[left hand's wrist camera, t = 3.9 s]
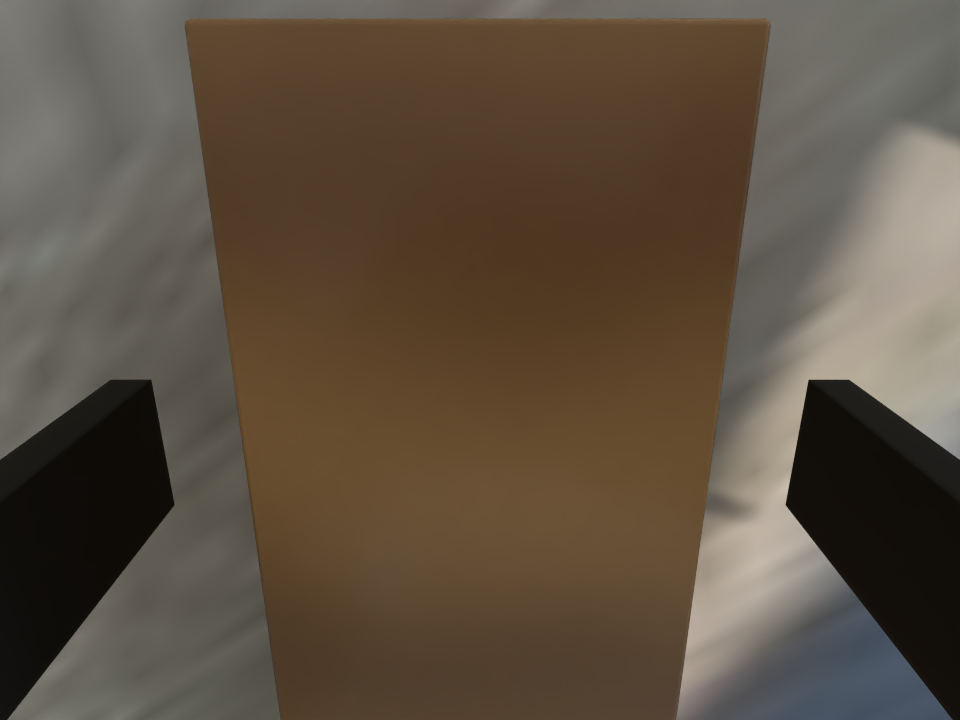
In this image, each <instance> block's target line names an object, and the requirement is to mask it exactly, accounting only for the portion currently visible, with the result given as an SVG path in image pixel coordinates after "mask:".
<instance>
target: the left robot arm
mask: <svg viewBox="0 0 960 720" xmlns="http://www.w3.org/2000/svg"><path fill="white" fill-rule="evenodd" d="M173 506H174V500H173V495H172V489H171V484H170V478H169V473H168V468H167V462H166V457H165V451H164V446H163V441H162V435H161V430H160V424H159V419H158V414H157V408H156V403H155V397H154V392H153V386H152V381H151V380H110V381H109V382H107V383H106V384H104V385H103V386H102V387H100V388H99V389H98V390H96V391H95V392H93V393H92V394H91V395H89V396H88V397H87V398H85V399H84V400H82V401H81V402H80V403H78V404H77V405H75V406H74V407H73V408H71V409H70V410H69V411H67V412H66V413H64V414H63V415H62V416H60V417H59V418H58V419H56V420H55V421H53V422H52V423H51V424H49V425H48V426H46V427H45V428H44V429H42V430H41V431H40V432H38V433H37V434H35V435H34V436H33V437H31V438H30V439H29V440H27V441H26V442H24V443H23V444H22V445H20V446H19V447H17V448H16V449H15V450H13V451H12V452H11V453H9V454H8V455H6V456H5V457H4V458H2V459H1V460H0V720H7V719H8V718H9V717H10V715H11V714H12V713H13V712H14V710H15V709H16V708H17V706H18V705H19V704H20V703H21V701H22V700H23V699H24V697H25V696H26V695H27V694H28V692H29V691H30V690H31V688H32V687H33V686H34V685H35V683H36V682H37V681H38V679H39V678H40V677H41V676H42V674H43V673H44V672H45V671H46V669H47V668H48V667H49V665H50V664H51V663H52V662H53V660H54V659H55V658H56V656H57V655H58V654H59V653H60V651H61V650H62V649H63V647H64V646H65V645H66V644H67V642H68V641H69V640H70V638H71V637H72V636H73V635H74V633H75V632H76V631H77V629H78V628H79V627H80V626H81V624H82V623H83V622H84V620H85V619H86V618H87V617H88V615H89V614H90V613H91V611H92V610H93V609H94V608H95V606H96V605H97V604H98V602H99V601H100V600H101V599H102V597H103V596H104V595H105V593H106V592H107V591H108V590H109V588H110V587H111V586H112V584H113V583H114V582H115V581H116V579H117V578H118V577H119V575H120V574H121V573H122V572H123V570H124V569H125V568H126V566H127V565H128V564H129V563H130V561H131V560H132V559H133V558H134V556H135V555H136V554H137V552H138V551H139V550H140V549H141V547H142V546H143V545H144V543H145V542H146V541H147V540H148V538H149V537H150V536H151V534H152V533H153V532H154V531H155V529H156V528H157V527H158V525H159V524H160V523H161V522H162V520H163V519H164V518H165V516H166V515H167V514H168V513H169V511H170V510H171V509H172V507H173ZM786 506H787V507H788V509H789V510H790V511H791V513H792V514H793V515H794V516H795V518H796V519H797V520H798V522H799V523H800V524H801V525H802V527H803V528H804V529H805V531H806V532H807V533H808V534H809V536H810V537H811V538H812V540H813V541H814V542H815V543H816V545H817V546H818V547H819V548H820V550H821V551H822V552H823V554H824V555H825V556H826V557H827V559H828V560H829V561H830V563H831V564H832V565H833V566H834V568H835V569H836V570H837V572H838V573H839V574H840V575H841V577H842V578H843V579H844V581H845V582H846V583H847V584H848V586H849V587H850V588H851V590H852V591H853V592H854V593H855V595H856V596H857V597H858V599H859V600H860V601H861V602H862V604H863V605H864V606H865V608H866V609H867V610H868V611H869V613H870V614H871V615H872V617H873V618H874V619H875V620H876V622H877V623H878V624H879V626H880V627H881V628H882V629H883V631H884V632H885V633H886V635H887V636H888V637H889V638H890V640H891V641H892V642H893V644H894V645H895V646H896V647H897V649H898V650H899V651H900V652H901V654H902V655H903V656H904V658H905V659H906V660H907V661H908V663H909V664H910V665H911V667H912V668H913V669H914V670H915V672H916V673H917V674H918V676H919V677H920V678H921V679H922V681H923V682H924V683H925V685H926V686H927V687H928V688H929V690H930V691H931V692H932V694H933V695H934V696H935V697H936V699H937V700H938V701H939V703H940V704H941V705H942V706H943V708H944V709H945V710H946V712H947V713H948V714H949V715H950V717H951V718H952V719H953V720H960V460H959V459H958V458H956V457H955V456H954V455H952V454H951V453H949V452H948V451H947V450H945V449H944V448H943V447H941V446H940V445H938V444H937V443H936V442H934V441H933V440H931V439H930V438H929V437H927V436H926V435H925V434H923V433H922V432H920V431H919V430H918V429H916V428H915V427H914V426H912V425H911V424H909V423H908V422H907V421H905V420H904V419H902V418H901V417H900V416H898V415H897V414H896V413H894V412H893V411H891V410H890V409H889V408H887V407H886V406H885V405H883V404H882V403H880V402H879V401H878V400H876V399H875V398H873V397H872V396H871V395H869V394H868V393H867V392H865V391H864V390H862V389H861V388H860V387H858V386H857V385H856V384H854V383H853V382H851V381H850V380H809V381H808V387H807V392H806V397H805V403H804V408H803V414H802V419H801V424H800V430H799V435H798V441H797V446H796V452H795V457H794V462H793V468H792V473H791V479H790V484H789V489H788V495H787V500H786Z"/></svg>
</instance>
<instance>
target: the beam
mask: <svg viewBox="0 0 960 720" xmlns="http://www.w3.org/2000/svg"><path fill="white" fill-rule="evenodd" d="M185 30H186V37H187V45H188V52H189V59H190V66H191V74H192V81H193V88H194V95H195V102H196V110H197V117H198V124H199V131H200V139H201V146H202V153H203V160H204V168H205V175H206V182H207V189H208V197H209V204H210V211H211V218H212V225H213V233H214V240H215V247H216V254H217V262H218V269H219V276H220V283H221V291H222V298H223V305H224V312H225V320H226V327H227V334H228V341H229V349H230V356H231V363H232V370H233V377H234V385H235V392H236V399H237V406H238V414H239V421H240V428H241V435H242V443H243V450H244V457H245V464H246V472H247V479H248V486H249V493H250V500H251V508H252V515H253V522H254V529H255V537H256V544H257V551H258V558H259V566H260V573H261V580H262V587H263V595H264V602H265V609H266V616H267V624H268V631H269V638H270V645H271V652H272V660H273V667H274V674H275V681H276V689H277V696H278V703H279V710H280V718H281V720H676V717H677V710H678V702H679V695H680V688H681V680H682V673H683V665H684V658H685V651H686V643H687V636H688V629H689V621H690V614H691V607H692V599H693V592H694V585H695V577H696V570H697V563H698V555H699V548H700V540H701V533H702V526H703V518H704V511H705V504H706V496H707V489H708V482H709V474H710V467H711V460H712V452H713V445H714V437H715V430H716V423H717V415H718V408H719V401H720V393H721V386H722V379H723V371H724V364H725V357H726V349H727V342H728V334H729V327H730V320H731V312H732V305H733V298H734V290H735V283H736V276H737V268H738V261H739V254H740V246H741V239H742V231H743V224H744V217H745V209H746V202H747V195H748V187H749V180H750V173H751V165H752V158H753V151H754V143H755V136H756V129H757V121H758V114H759V106H760V99H761V92H762V84H763V77H764V70H765V62H766V55H767V48H768V40H769V33H770V21H768V20H766V19H190V20H188V21H186V23H185Z"/></svg>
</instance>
